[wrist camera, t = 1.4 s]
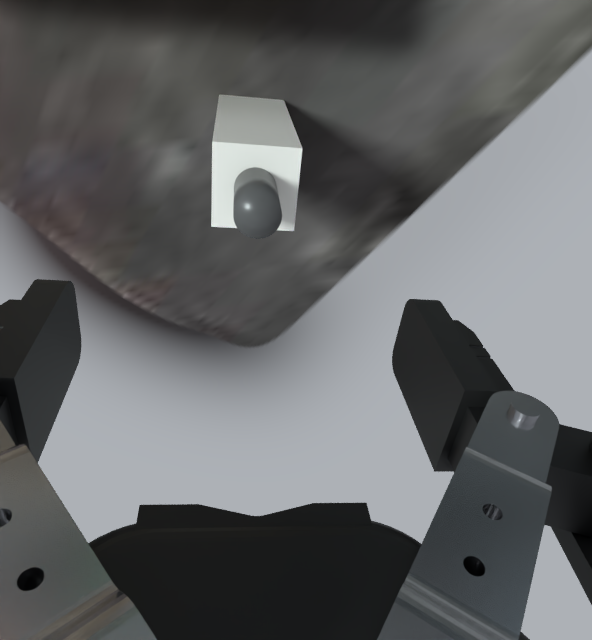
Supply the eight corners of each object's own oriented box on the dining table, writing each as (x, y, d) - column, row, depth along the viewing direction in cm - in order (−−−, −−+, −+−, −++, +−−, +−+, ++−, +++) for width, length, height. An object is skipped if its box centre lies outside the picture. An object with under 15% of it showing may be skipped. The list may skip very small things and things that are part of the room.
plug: (283, 100, 29) (311, 171, 18) (278, 163, 31) (301, 261, 20) (219, 94, 29) (208, 164, 18) (218, 159, 31) (208, 257, 20)
